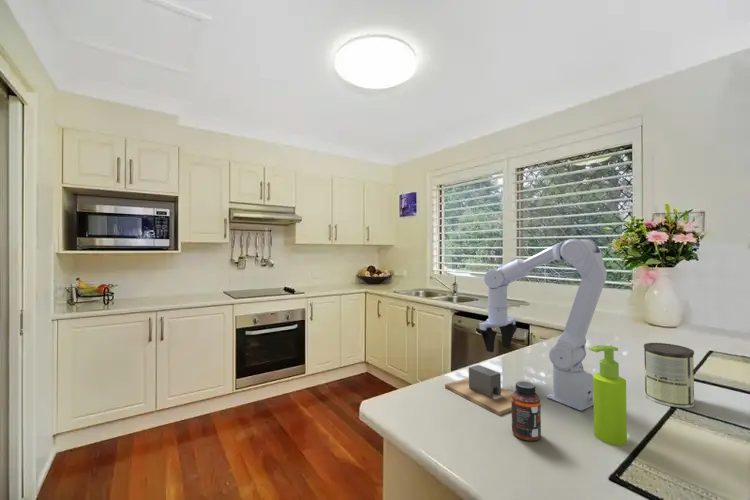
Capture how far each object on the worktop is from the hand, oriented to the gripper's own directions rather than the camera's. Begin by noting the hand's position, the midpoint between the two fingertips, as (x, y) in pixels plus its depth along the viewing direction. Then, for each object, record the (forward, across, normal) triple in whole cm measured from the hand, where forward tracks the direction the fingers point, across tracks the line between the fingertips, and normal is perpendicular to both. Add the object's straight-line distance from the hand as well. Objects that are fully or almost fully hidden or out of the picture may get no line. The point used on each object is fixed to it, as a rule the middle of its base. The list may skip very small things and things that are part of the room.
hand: (498, 349), depth 107 cm
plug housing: (+8, +13, +6) cm, 17 cm away
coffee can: (+10, -27, +34) cm, 44 cm away
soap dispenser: (+10, +7, +35) cm, 37 cm away
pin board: (+9, +13, +6) cm, 17 cm away
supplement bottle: (+10, +21, +25) cm, 34 cm away
